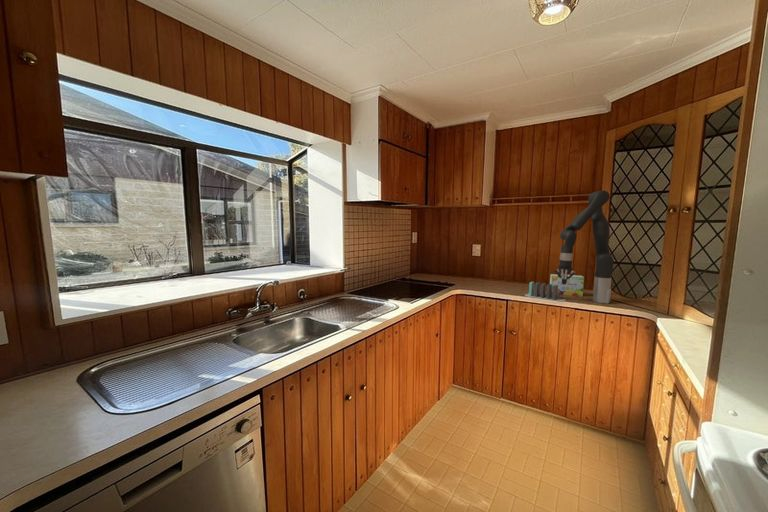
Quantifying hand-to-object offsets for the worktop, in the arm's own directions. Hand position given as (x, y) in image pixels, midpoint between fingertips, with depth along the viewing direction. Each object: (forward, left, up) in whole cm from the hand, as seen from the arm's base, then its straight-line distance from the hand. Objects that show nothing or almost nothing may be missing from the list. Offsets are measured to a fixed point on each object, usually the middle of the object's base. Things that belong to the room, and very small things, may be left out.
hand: (563, 284), depth 209 cm
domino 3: (+13, 0, -12) cm, 17 cm away
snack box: (+4, -21, -12) cm, 24 cm away
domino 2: (+17, 0, -12) cm, 21 cm away
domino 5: (+5, 0, -12) cm, 13 cm away
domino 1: (+21, 0, -12) cm, 24 cm away
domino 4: (+9, 0, -12) cm, 15 cm away
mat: (+12, 0, -12) cm, 17 cm away
